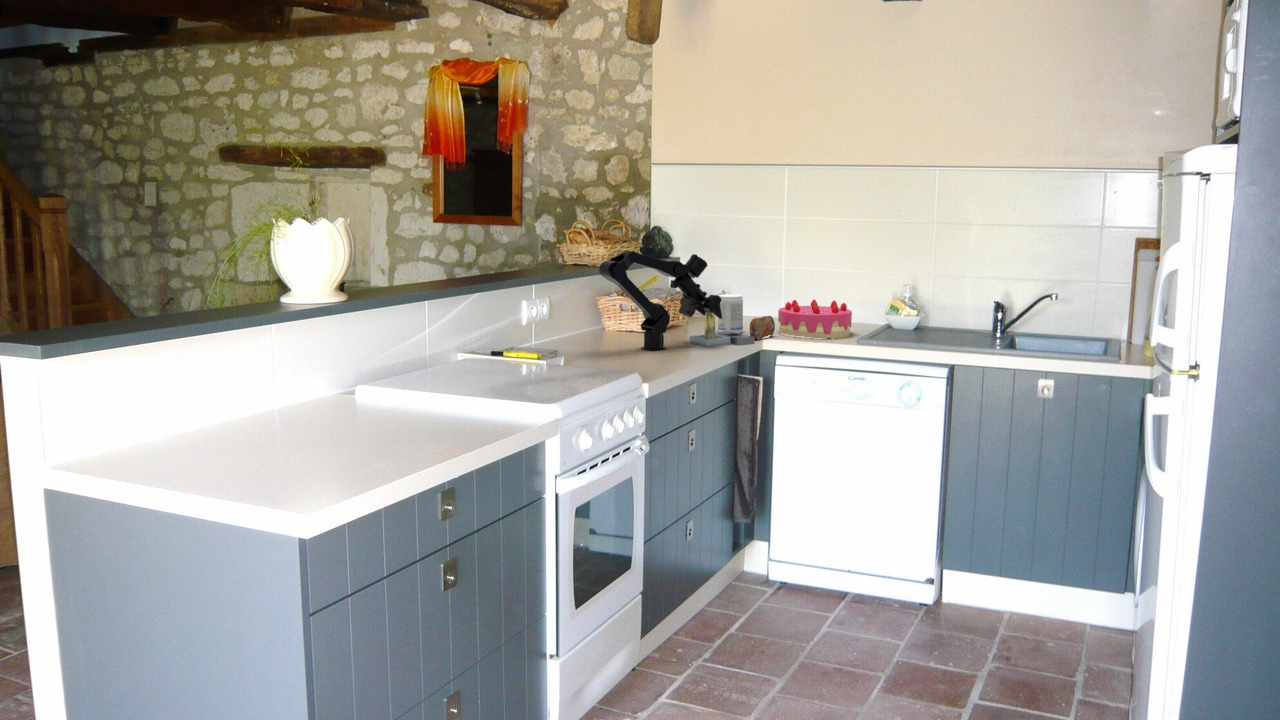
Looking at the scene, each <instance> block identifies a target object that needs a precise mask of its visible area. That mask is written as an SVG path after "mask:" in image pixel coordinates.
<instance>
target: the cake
mask: <svg viewBox="0 0 1280 720" xmlns="http://www.w3.org/2000/svg"><path fill="white" fill-rule="evenodd" d="M777 311H778V316H777V317H778V318H777V319H778V321H777V322H778V323H779V326H778V327H779V329H778V333H779V332H780V333H783V334H788V335H794V336H804V337H813V338H838V339H844V338H848V337H849V336H850V334H851V333H850V331H851V330H850V329H851V328H852V319H853V311H852V310H850V309H848V306H847V304H846V302H843V303H841V304H840V306H838V303H837V301H836V300H832V301H831V302H830V306H821V305H819V304H818V301H817V299H812V301H811V303H810V305H799V304H798V302H797V300H796V299H793V300H792V302H790V301H787V302H786V303H785V305H784V306H783V307H780V308H779V309H778V310H777Z"/></svg>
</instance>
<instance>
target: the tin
mask: <svg viewBox="0 0 1280 720" xmlns="http://www.w3.org/2000/svg"><path fill="white" fill-rule="evenodd" d="M775 327H776V323H775V319H774V317H772V315H763V316H758V317H754V318H752V319H751V320H750V323H749V336H753V337H755V340H756V341H762V338H763V337H765V336H768V335H772V336H774V334H775V329H776V328H775Z"/></svg>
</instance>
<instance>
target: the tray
mask: <svg viewBox="0 0 1280 720" xmlns="http://www.w3.org/2000/svg"><path fill="white" fill-rule="evenodd" d="M730 340H731V338H730V337H725V336H721V335H716V334H715V339H705V334H698V335H690V336H689V344H693V345H697V346H703V347H706V348H708V347H718V346H729V345H730V346H731V344H730Z"/></svg>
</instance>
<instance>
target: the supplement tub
mask: <svg viewBox="0 0 1280 720" xmlns="http://www.w3.org/2000/svg"><path fill="white" fill-rule="evenodd" d="M719 296H720V298H721V299H722V301H721V302H720V308H721V313H722V318H721V319H719V318H718V317H717V319H718V321H717V323H718V325H717V326H718V327H717V329H718V331H717V332H726V331H729V332H734V333H739V334H742V333H743V331H744V321H743V320H744V299H743V295H742V294H736V293H734V294H733V293H726V294H719Z"/></svg>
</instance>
